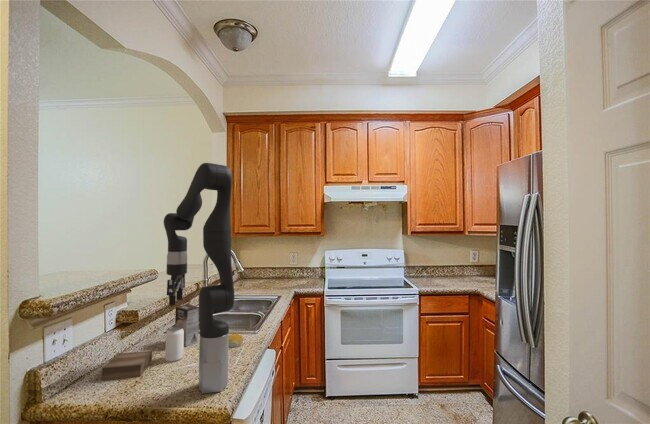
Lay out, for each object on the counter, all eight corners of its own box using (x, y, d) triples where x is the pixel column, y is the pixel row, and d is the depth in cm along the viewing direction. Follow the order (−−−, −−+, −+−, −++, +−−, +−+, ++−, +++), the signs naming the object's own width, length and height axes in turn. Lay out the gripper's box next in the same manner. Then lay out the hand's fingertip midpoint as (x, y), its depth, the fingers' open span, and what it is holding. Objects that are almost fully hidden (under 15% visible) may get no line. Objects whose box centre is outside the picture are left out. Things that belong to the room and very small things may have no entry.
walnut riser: (140, 376, 109) (140, 364, 109) (102, 379, 107) (102, 368, 107) (151, 361, 121) (151, 351, 121) (117, 364, 118) (117, 353, 118)
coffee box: (173, 342, 140) (174, 306, 141) (186, 338, 146) (187, 303, 146) (186, 346, 135) (186, 309, 136) (198, 342, 141) (199, 306, 141)
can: (178, 353, 128) (179, 324, 129) (186, 358, 124) (186, 327, 124) (162, 358, 123) (163, 328, 124) (169, 363, 119) (170, 332, 119)
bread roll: (243, 340, 144) (244, 331, 144) (240, 347, 135) (241, 338, 136) (225, 340, 143) (225, 331, 143) (221, 348, 134) (221, 339, 135)
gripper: (181, 264, 119) (180, 307, 118) (191, 260, 133) (190, 298, 132) (160, 264, 118) (159, 307, 117) (173, 260, 132) (172, 298, 131)
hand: (175, 302), depth 125 cm, fingers open, 8 cm apart
